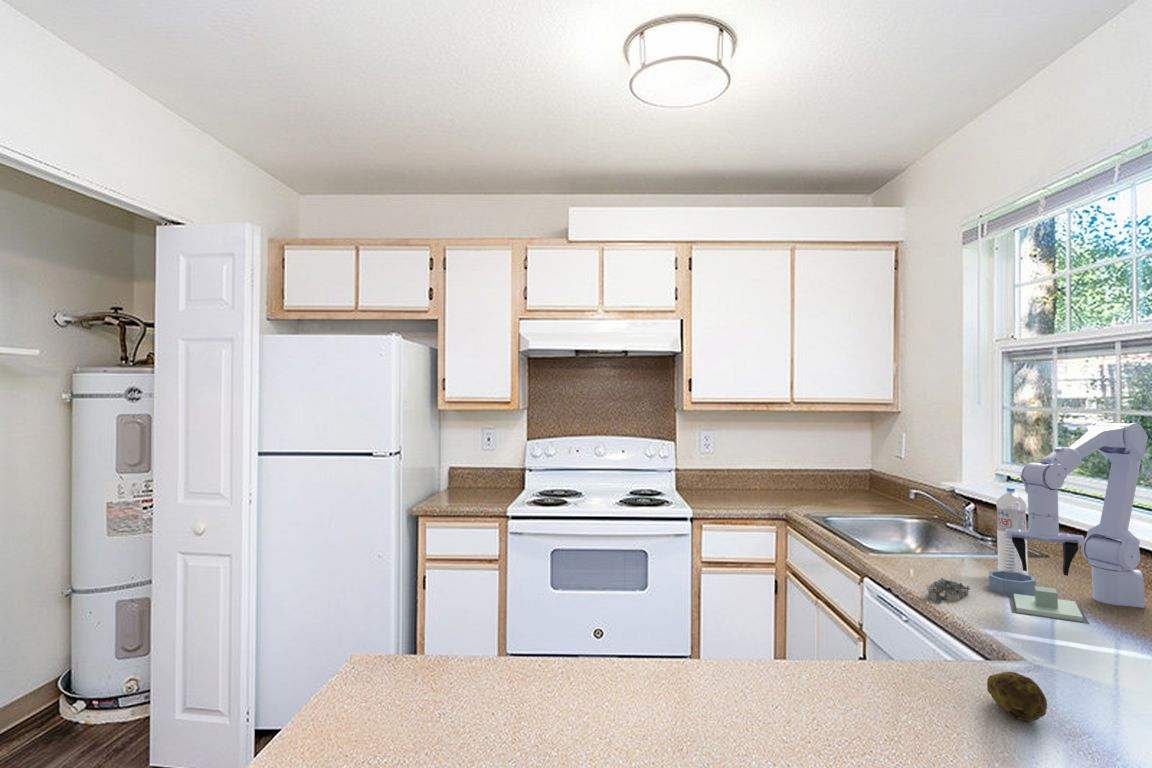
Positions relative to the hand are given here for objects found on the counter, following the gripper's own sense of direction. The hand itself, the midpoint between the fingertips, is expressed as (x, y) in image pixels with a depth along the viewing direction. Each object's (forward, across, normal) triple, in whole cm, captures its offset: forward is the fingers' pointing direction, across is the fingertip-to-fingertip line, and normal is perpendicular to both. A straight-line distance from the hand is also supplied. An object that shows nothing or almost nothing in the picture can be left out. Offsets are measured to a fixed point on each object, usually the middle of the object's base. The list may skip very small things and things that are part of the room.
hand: (1044, 572), depth 146 cm
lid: (+9, 0, 0) cm, 9 cm away
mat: (+9, 0, 0) cm, 9 cm away
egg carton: (+10, -20, +1) cm, 22 cm away
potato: (+10, -9, -61) cm, 62 cm away
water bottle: (+10, -5, +29) cm, 31 cm away
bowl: (+10, -6, +13) cm, 17 cm away
